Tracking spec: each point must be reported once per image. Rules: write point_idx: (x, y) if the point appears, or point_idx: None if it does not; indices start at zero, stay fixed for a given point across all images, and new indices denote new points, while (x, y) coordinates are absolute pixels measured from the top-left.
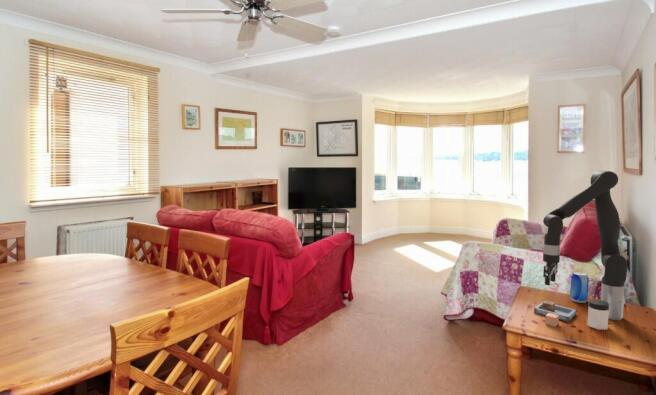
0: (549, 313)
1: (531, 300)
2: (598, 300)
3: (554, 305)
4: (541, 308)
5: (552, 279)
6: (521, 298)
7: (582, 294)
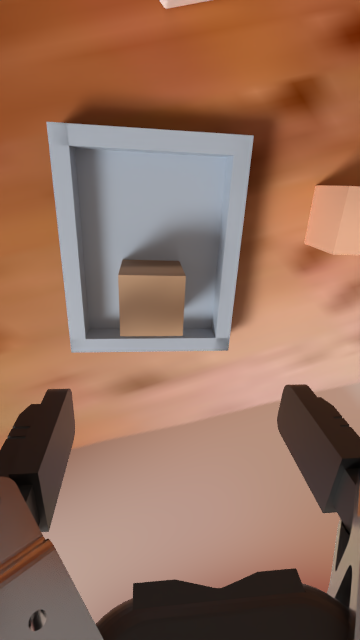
0: (343, 246)
1: None
2: None
3: (129, 269)
4: None
5: (66, 430)
6: None
7: None
